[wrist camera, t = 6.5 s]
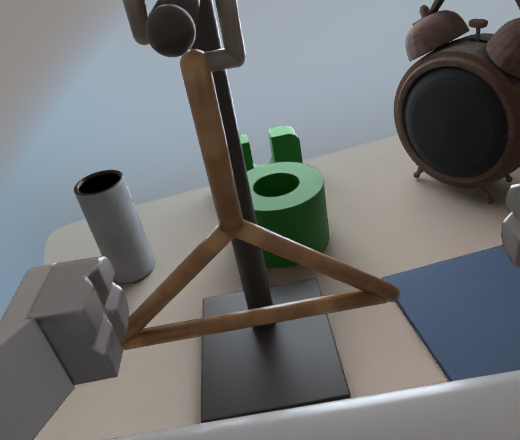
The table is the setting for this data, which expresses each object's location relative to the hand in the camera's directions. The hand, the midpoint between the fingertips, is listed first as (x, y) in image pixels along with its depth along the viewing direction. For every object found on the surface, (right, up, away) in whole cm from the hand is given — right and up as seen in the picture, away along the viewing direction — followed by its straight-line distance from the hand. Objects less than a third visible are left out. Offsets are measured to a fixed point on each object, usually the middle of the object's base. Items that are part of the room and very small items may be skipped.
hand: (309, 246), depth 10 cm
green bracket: (+1, +1, +43) cm, 43 cm away
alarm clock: (+21, +4, +42) cm, 47 cm away
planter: (-14, -5, +39) cm, 41 cm away
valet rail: (0, -11, +25) cm, 27 cm away
